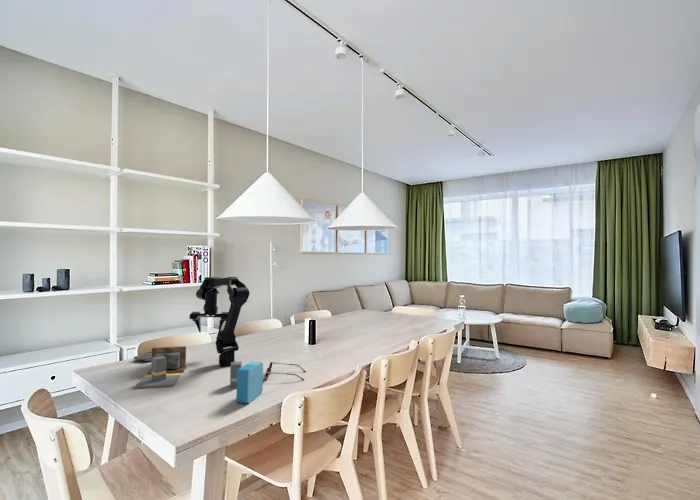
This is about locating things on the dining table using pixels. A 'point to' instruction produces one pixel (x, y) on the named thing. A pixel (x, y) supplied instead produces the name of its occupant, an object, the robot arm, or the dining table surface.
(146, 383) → the pad
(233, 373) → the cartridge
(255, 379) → the blue flat block
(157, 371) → the block
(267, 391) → the dining table surface
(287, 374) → the sunglasses
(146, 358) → the graphics card
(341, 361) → the dining table surface
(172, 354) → the mounted unit
